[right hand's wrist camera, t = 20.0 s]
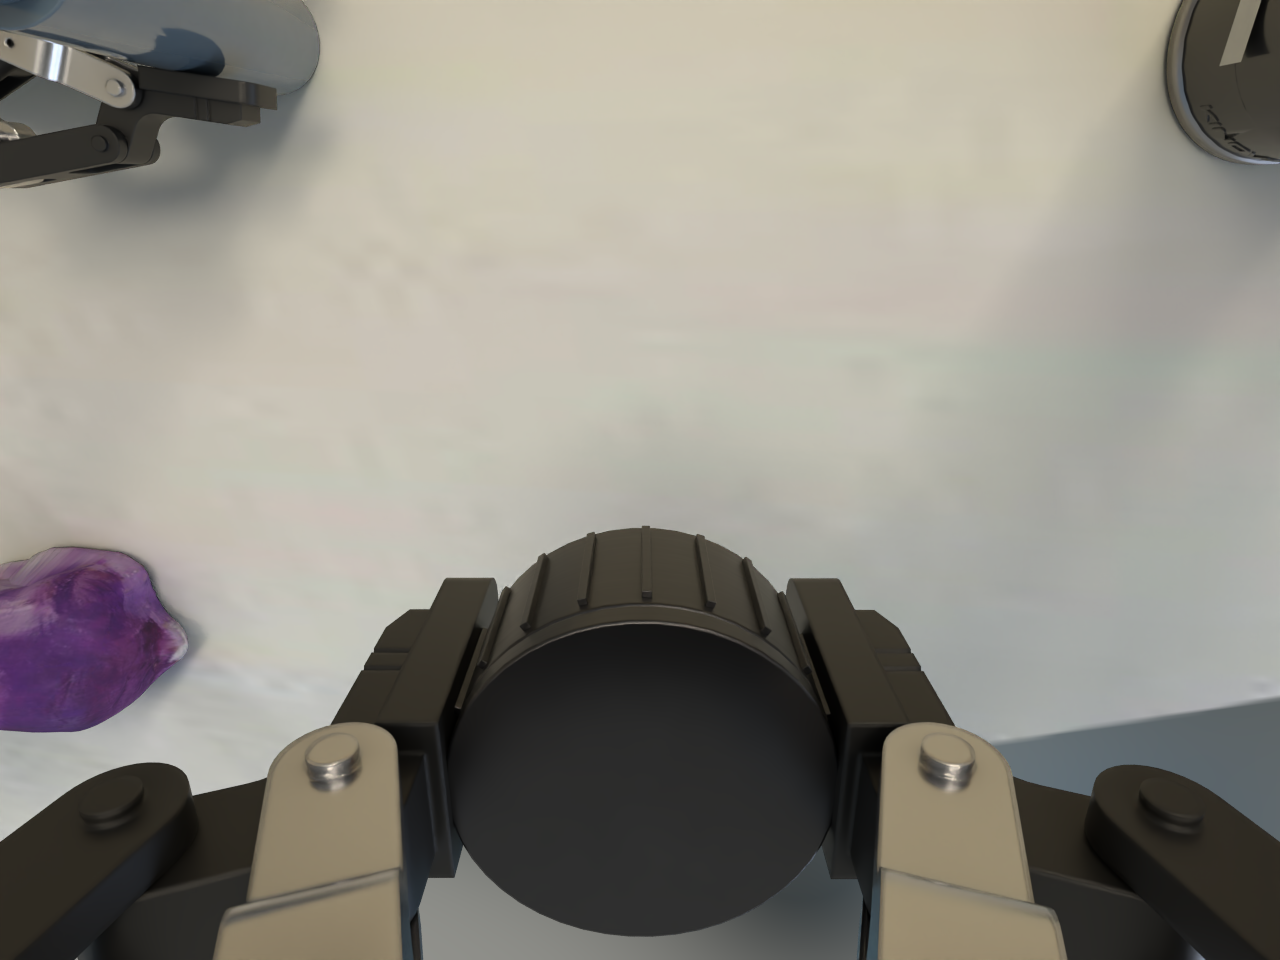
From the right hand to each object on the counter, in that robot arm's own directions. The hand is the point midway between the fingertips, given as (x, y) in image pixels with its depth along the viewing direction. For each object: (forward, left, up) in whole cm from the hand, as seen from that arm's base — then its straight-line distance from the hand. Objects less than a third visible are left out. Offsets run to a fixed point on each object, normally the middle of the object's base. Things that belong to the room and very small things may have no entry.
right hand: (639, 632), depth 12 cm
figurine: (+27, -19, -26) cm, 42 cm away
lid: (0, 0, +3) cm, 3 cm away
